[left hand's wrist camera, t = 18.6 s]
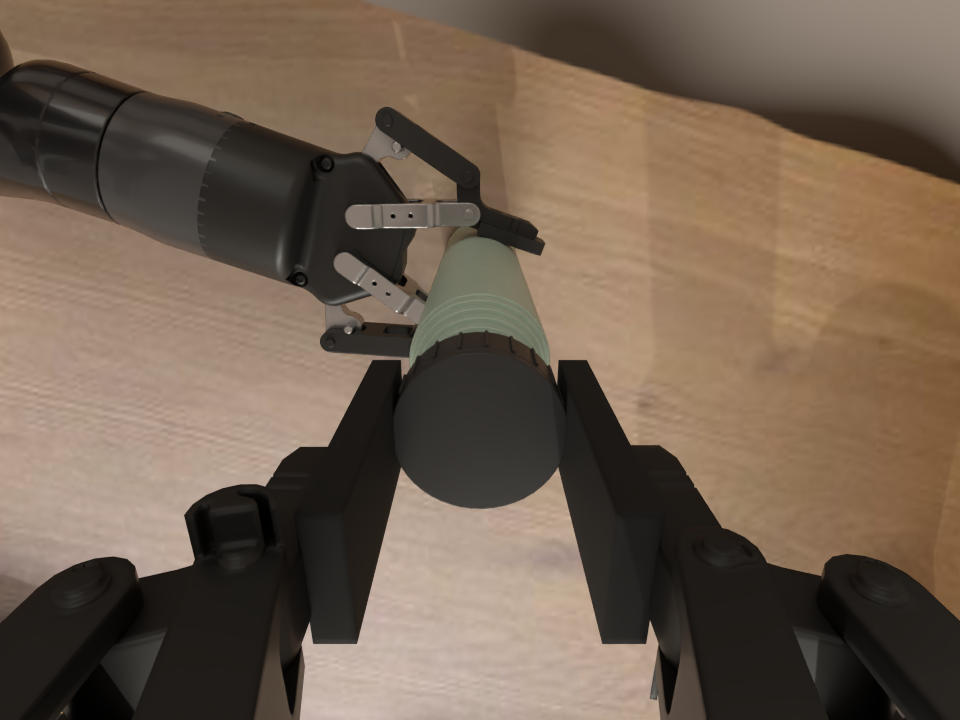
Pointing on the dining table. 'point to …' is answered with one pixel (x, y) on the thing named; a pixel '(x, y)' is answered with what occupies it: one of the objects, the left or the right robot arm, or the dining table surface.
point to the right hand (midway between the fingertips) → (523, 291)
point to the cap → (479, 421)
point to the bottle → (479, 296)
